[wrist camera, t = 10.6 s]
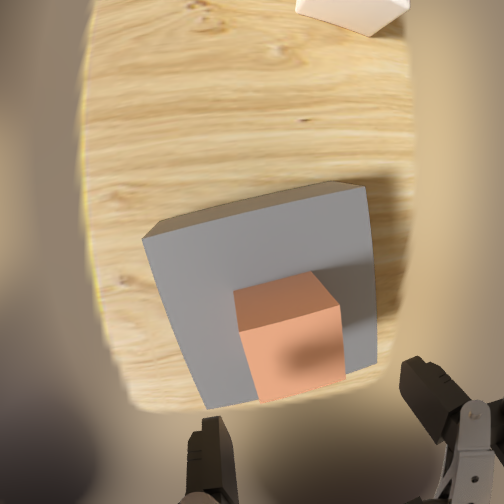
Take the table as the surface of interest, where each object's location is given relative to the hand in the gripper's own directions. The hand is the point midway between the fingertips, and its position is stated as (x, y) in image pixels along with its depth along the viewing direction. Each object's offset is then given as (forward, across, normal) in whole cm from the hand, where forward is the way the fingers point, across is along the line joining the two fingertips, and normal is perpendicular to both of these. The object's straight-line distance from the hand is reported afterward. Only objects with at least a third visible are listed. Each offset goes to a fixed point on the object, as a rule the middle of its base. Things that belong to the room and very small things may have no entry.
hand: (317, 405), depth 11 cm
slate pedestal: (+15, 0, 0) cm, 15 cm away
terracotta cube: (+9, 0, 0) cm, 9 cm away
